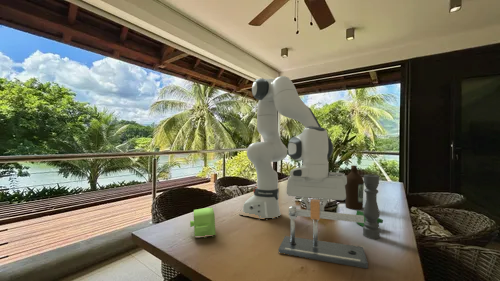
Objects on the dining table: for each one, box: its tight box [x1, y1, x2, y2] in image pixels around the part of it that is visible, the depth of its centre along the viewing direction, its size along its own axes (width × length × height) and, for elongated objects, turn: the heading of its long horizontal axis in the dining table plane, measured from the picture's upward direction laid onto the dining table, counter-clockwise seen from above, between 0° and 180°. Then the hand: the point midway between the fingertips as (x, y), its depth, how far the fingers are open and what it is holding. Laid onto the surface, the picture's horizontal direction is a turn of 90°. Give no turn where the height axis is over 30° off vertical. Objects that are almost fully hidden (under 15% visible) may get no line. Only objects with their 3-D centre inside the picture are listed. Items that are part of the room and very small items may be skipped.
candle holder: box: [362, 174, 381, 240], centre depth 95 cm, size 6×6×25 cm
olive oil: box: [344, 165, 365, 211], centre depth 137 cm, size 11×11×25 cm
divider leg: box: [310, 198, 321, 247], centre depth 82 cm, size 3×5×16 cm, turn 160°
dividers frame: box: [288, 205, 364, 244], centre depth 82 cm, size 26×6×14 cm, turn 70°
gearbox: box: [189, 207, 216, 237], centre depth 98 cm, size 18×10×10 cm, turn 14°
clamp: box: [355, 210, 384, 227], centre depth 106 cm, size 12×6×9 cm, turn 3°
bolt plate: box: [278, 235, 369, 270], centre depth 81 cm, size 28×12×2 cm, turn 70°
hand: (315, 210), depth 81 cm, fingers closed on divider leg, 3 cm apart
